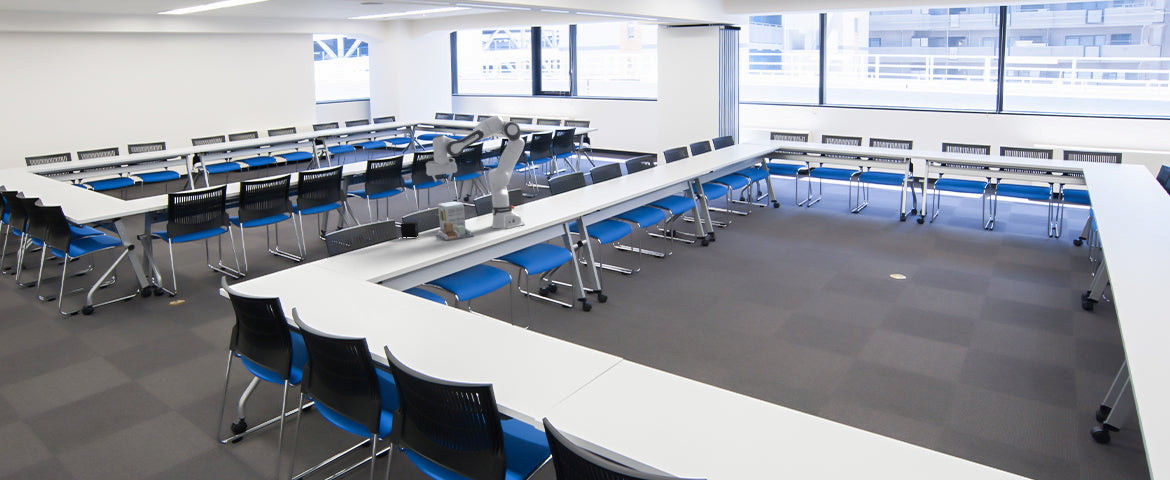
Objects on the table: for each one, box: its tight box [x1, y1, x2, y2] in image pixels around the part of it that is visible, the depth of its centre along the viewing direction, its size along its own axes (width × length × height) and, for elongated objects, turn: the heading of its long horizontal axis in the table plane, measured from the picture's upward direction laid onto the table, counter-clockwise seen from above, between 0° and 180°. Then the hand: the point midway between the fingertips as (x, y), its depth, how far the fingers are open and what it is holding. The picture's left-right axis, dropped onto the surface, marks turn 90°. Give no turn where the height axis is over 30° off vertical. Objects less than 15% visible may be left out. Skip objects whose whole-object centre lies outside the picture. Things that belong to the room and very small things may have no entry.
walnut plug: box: [443, 222, 454, 237], centre depth 490 cm, size 6×4×8 cm, turn 29°
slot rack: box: [436, 225, 474, 242], centre depth 493 cm, size 19×18×6 cm
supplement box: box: [437, 200, 467, 231], centre depth 512 cm, size 13×13×18 cm
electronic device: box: [400, 221, 420, 239], centre depth 494 cm, size 4×10×10 cm, turn 78°
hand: (442, 180), depth 501 cm, fingers open, 8 cm apart
